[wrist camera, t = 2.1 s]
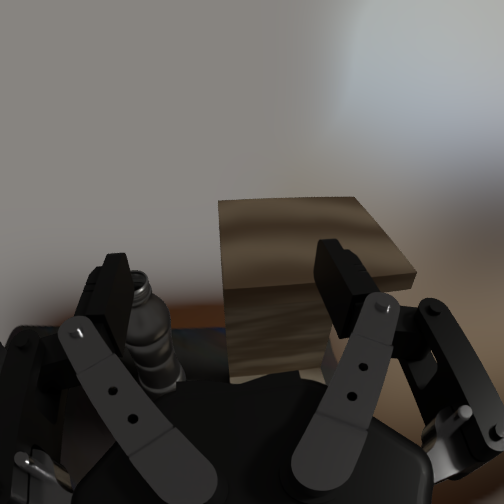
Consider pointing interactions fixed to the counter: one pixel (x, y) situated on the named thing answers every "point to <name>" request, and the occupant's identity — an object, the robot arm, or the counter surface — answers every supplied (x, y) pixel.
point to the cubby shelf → (276, 339)
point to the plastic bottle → (152, 341)
